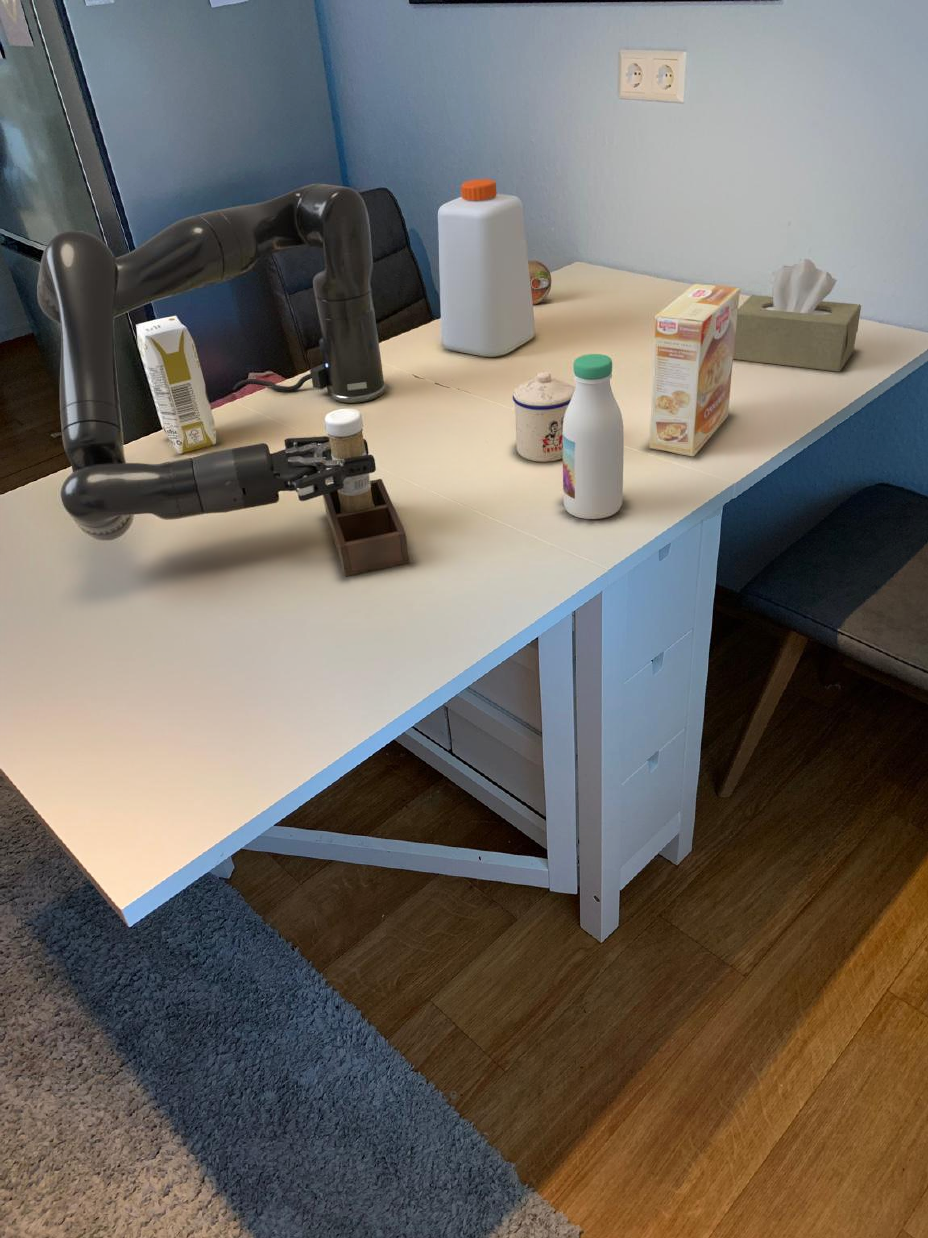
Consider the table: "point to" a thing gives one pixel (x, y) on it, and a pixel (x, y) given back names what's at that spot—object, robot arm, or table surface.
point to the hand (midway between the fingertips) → (370, 454)
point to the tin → (539, 281)
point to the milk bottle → (593, 442)
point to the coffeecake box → (693, 367)
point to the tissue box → (797, 322)
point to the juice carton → (176, 383)
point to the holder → (367, 533)
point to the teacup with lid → (541, 417)
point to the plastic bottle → (484, 272)
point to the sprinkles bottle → (348, 444)
